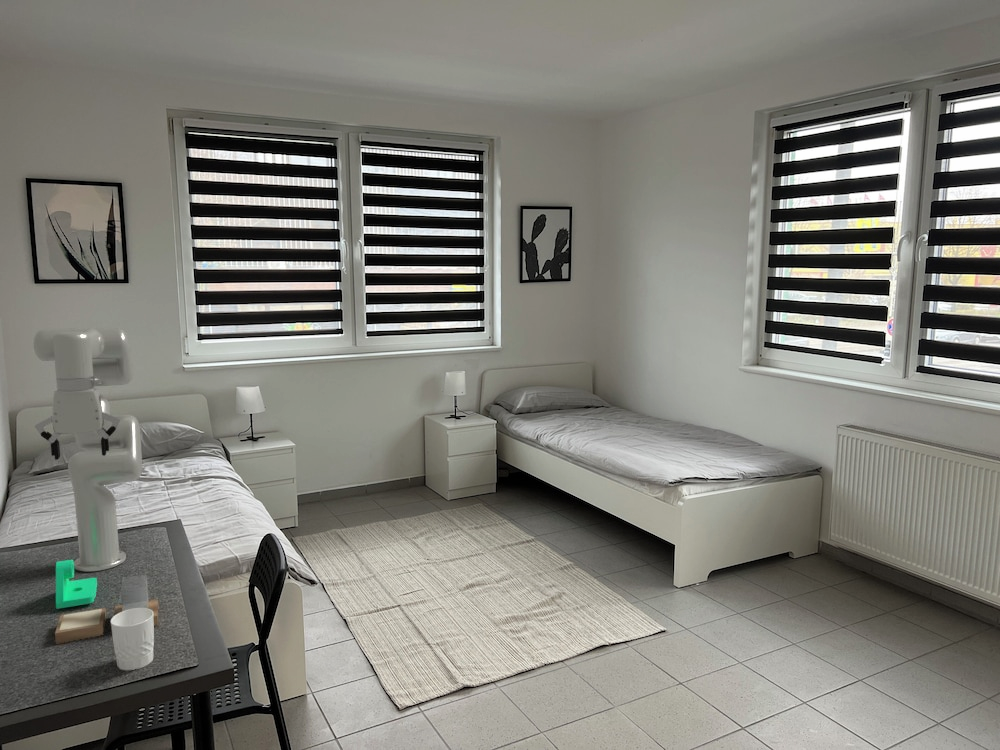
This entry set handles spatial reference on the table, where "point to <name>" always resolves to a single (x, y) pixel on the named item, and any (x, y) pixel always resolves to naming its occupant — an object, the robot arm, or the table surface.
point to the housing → (134, 592)
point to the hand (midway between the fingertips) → (81, 456)
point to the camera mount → (72, 587)
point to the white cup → (133, 638)
